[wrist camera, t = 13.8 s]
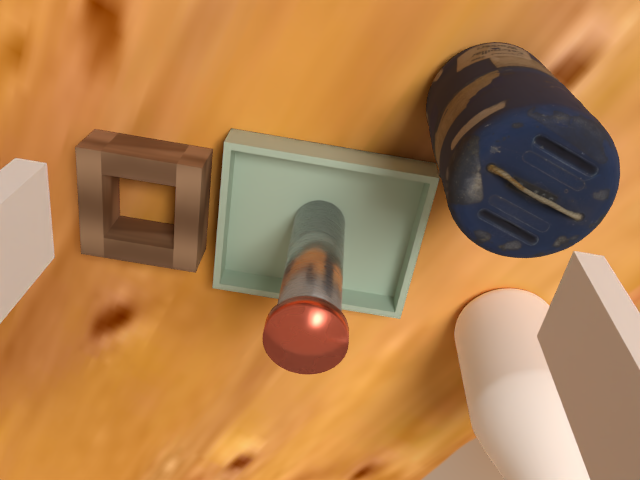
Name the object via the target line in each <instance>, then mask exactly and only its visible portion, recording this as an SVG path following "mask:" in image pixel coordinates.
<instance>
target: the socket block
mask: <svg viewBox="0 0 640 480" xmlns="http://www.w3.org/2000/svg"><path fill="white" fill-rule="evenodd" d="M75 149H76V168H77V186H78V204H79V223H80V241H81V254H86V255H92V256H98V257H104V258H110V259H116V260H122V261H128V262H135V263H141V264H147V265H153V266H159V267H165V268H171V269H177V270H183V271H189V272H195V273H196V271H197V268H198V266H199V264H200V261H201V259H202V257H203V254H204V252H205V250H206V241H207V227H208V212H209V198H210V183H211V169H212V154H213V149H210V148H204V147H198V146H192V145H186V144H180V143H174V142H168V141H163V140H157V139H151V138H145V137H139V136H133V135H127V134H121V133H115V132H109V131H103V130H97V129H94V130H93V131H92V132H91V133H90V134H89V135H88V136H87V137H86V138H85V139H83V140H82V141H81V142H80V143H79V144H78V145H77V146H76V147H75ZM119 177H121V178H127V179H133V180H139V181H145V182H151V183H157V184H163V185H169V186H175V187H176V197H175V224H174V225H173V224H167V223H161V222H155V221H149V220H143V219H136V218H130V217H124V216H120V198H119Z"/></svg>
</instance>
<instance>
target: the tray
mask: <svg viewBox="0 0 640 480" xmlns="http://www.w3.org/2000/svg"><path fill="white" fill-rule="evenodd" d="M437 172H438V170H437V166H436V163H432V162H426V161H420V160H415V159H409V158H403V157H397V156H391V155H385V154H379V153H373V152H367V151H362V150H356V149H350V148H344V147H338V146H332V145H326V144H320V143H314V142H309V141H303V140H297V139H291V138H285V137H279V136H273V135H267V134H261V133H256V132H250V131H244V130H238V129H232V128H231V130H230V132H229V133H228V135H227V137H226V139H225V141H224V149H223V161H222V174H221V187H220V200H219V212H218V225H217V238H216V250H215V263H214V276H213V288H215V289H221V290H227V291H234V292H240V293H246V294H252V295H258V296H264V297H270V298H276V299H279V294H280V289H281V284H282V279H283V274H284V269H285V264H286V258H287V253H288V248H289V243H290V238H291V233H292V228H293V223H294V218H295V215H296V212H297V211H298V209H299V208H300V207H301V206H302V205H304V204H306V203H307V202H310V201H314V200H323V201H328V202H330V203H332V204H334V205H335V206H337V207H338V208H339V209H340V210H341V212H342V213H343V215H344V218H345V238H344V262H343V285H342V309H343V310H350V311H356V312H362V313H368V314H374V315H380V316H386V317H392V318H398V319H400V318H401V314H402V311H403V307H404V303H405V300H406V296H407V293H408V289H409V286H410V282H411V278H412V275H413V271H414V268H415V264H416V261H417V257H418V253H419V250H420V246H421V243H422V239H423V236H424V232H425V228H426V225H427V221H428V218H429V214H430V211H431V207H432V203H433V200H434V196H435V193H436V189H437V186H438V182H439V176H438V175H437Z"/></svg>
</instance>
